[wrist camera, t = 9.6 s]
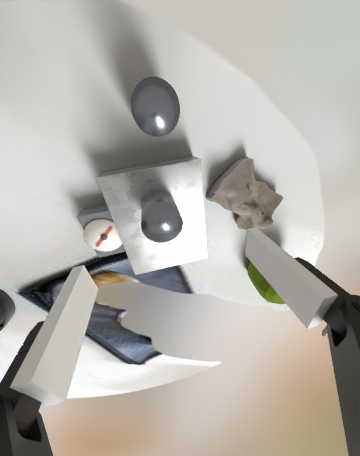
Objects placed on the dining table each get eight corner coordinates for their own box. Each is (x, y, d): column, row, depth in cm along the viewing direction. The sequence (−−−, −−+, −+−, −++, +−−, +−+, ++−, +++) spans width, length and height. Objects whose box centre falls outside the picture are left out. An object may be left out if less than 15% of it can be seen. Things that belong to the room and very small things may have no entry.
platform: (135, 271, 31) (135, 275, 30) (97, 177, 21) (96, 178, 21) (205, 254, 32) (206, 257, 31) (199, 158, 23) (200, 159, 22)
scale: (109, 266, 33) (106, 280, 30) (64, 178, 24) (53, 185, 20) (200, 245, 35) (206, 255, 32) (192, 155, 25) (199, 158, 22)
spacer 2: (146, 223, 25) (147, 246, 20) (137, 193, 23) (135, 211, 17) (177, 216, 26) (185, 237, 21) (172, 186, 23) (180, 201, 18)
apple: (234, 270, 41) (260, 309, 32) (263, 238, 38) (302, 271, 28) (261, 280, 46) (291, 317, 37) (289, 252, 42) (330, 286, 33)
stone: (199, 194, 29) (206, 202, 26) (237, 149, 27) (252, 151, 23) (244, 232, 36) (255, 242, 33) (279, 199, 33) (295, 206, 30)
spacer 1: (139, 138, 23) (138, 139, 18) (129, 93, 20) (124, 80, 15) (174, 133, 23) (182, 132, 18) (168, 88, 21) (176, 73, 16)
